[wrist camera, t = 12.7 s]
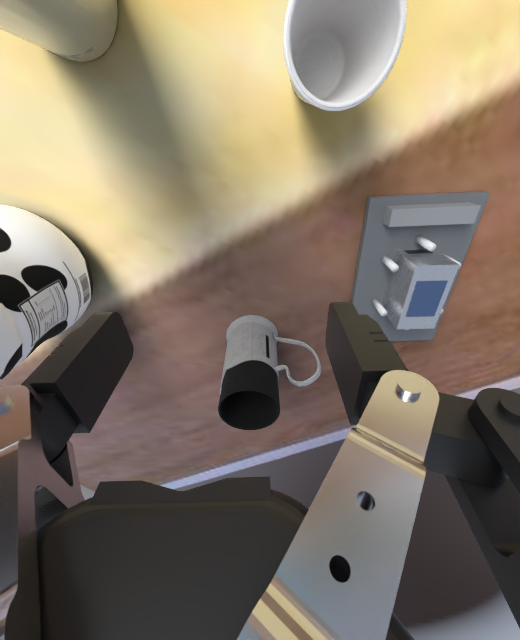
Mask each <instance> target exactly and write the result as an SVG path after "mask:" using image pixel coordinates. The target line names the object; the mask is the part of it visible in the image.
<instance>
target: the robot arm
mask: <svg viewBox="0 0 520 640" xmlns="http://www.w3.org/2000/svg"><path fill="white" fill-rule="evenodd" d="M117 17H118V7H117V0H0V29H2V30H4V31H6V32H8V33H11V34H13V35H15V36H17V37H20V38H22V39H24V40H26V41H29V42H31V43H33V44H35V45H37V46H40V47H42V48H44V49H46V50H48V51H50V52H52V53H54V54H56V55H59V56H62V57H65V58H67V59H70V60H73V61H81V62H86V61H91V60H95V59H96V58H98V57H100V56H101V55H103V54H104V52H105V51H106V50H107V49H108V48H109V46H110V44H111V42H112V40H113V38H114V35H115V31H116V27H117ZM326 348H327V353H328V356H329V359H330V362H331V365H332V368H333V372H334V375H335V378H336V381H337V384H338V387H339V390H340V393H341V397H342V400H343V403H344V406H345V409H346V412H347V415H348V419H349V422H350V425H355V424H357V426H356V428H352V429H351V430H350V432H349V434H348V435H347V437H346V439H345V441H344V443H343V445H342V447H341V449H340V451H339V453H338V455H337V457H336V458H335V460H334V462H333V464H332V466H331V468H330V470H329V472H328V474H327V476H326V478H325V480H324V481H323V483H322V486H321V487H320V489H319V491H318V493H317V495H316V497H315V499H314V501H313V503H312V504H311V506H310V508H309V509H308V508H307V507H305V506H304V505H302V504H301V503H300V502H298V501H297V500H295V499H293V498H292V497H290V496H288V495H285V494H283V493H281V492H278V491H274V490H271V488H270V477H245V478H226V479H223V480H219V481H216V482H213V483H210V484H206V485H203V486H200V487H196V488H193V489H190V490H187V491H176V490H173V489H169V488H166V487H162V486H159V485H155V484H152V483H148V482H145V481H110V482H100V483H99V485H98V488H97V490H96V492H95V494H94V496H93V497H92V498H89V499H87V500H84V498H83V495H82V492H81V487H80V482H79V477H78V471H77V466H76V461H75V455H74V450H73V446H72V443H71V442H70V441H69V439H70V437H71V436H72V434H73V433H90V431H91V429H92V428H93V426H94V424H95V422H96V421H97V419H98V417H99V415H100V414H101V412H102V410H103V408H104V407H105V405H106V403H107V401H108V400H109V398H110V396H111V394H112V393H113V391H114V389H115V387H116V386H117V384H118V382H119V380H120V379H121V377H122V375H123V373H124V372H125V370H126V368H127V366H128V365H129V363H130V361H131V359H132V356H133V344H132V342H131V339H130V337H129V334H128V332H127V329H126V327H125V325H124V322H123V320H122V317H121V316H120V314H119V313H117V312H106V313H95V314H93V315H92V316H91V317H90V318H89V319H88V320H87V321H86V323H85V324H84V325H83V326H82V327H80V328H79V329H77V330H76V331H74V332H73V333H71V334H69V335H68V336H67V337H66V338H65V339H64V340H63V341H62V342H61V343H60V344H59V347H57V348H56V349H55V350H54V351H53V352H52V353H51V355H49V356H48V357H47V358H46V359H45V360H44V361H43V362H42V363H41V364H40V365H39V366H38V367H37V368H36V370H35V371H34V372H33V373H32V374H31V375H30V376H29V377H28V378H27V379H26V380H25V381H24V382H23V383H22V384H21V385H13V386H8V387H4V388H2V389H0V640H414V638H413V637H412V636H411V635H410V633H409V632H408V631H407V630H406V628H405V627H404V626H403V625H402V623H401V622H400V621H399V619H398V618H397V617H396V616H395V614H394V613H393V612H392V611H393V607H394V603H395V598H396V594H397V590H398V586H399V581H400V578H401V574H402V569H403V566H404V561H405V557H406V553H407V549H408V545H409V541H410V537H411V532H412V528H413V524H414V520H415V516H416V512H417V508H418V504H419V499H420V495H421V491H422V487H423V483H424V478H425V473H426V470H430V471H433V472H437V473H440V474H444V475H445V476H446V479H447V481H448V482H449V485H450V487H451V489H452V491H453V493H454V495H455V497H456V499H457V501H458V503H459V505H460V507H461V509H462V511H463V513H464V515H465V517H466V519H467V521H468V524H469V526H470V528H471V530H472V532H473V534H474V536H475V538H476V540H477V542H478V544H479V546H480V548H481V550H482V552H483V554H484V556H485V558H486V560H487V562H488V564H489V566H490V568H491V571H492V572H493V575H494V576H495V579H496V581H497V583H498V585H499V587H500V589H501V591H502V593H503V595H504V597H505V599H506V601H507V603H508V605H509V607H510V609H511V611H512V613H513V615H514V618H515V620H516V622H517V624H518V626H519V628H520V394H517V393H515V392H512V391H509V390H505V389H500V388H487V389H484V390H481V391H480V392H479V393H478V395H477V396H476V398H475V400H472V399H467V398H462V397H458V396H453V395H448V394H443V393H440V392H438V391H437V390H436V388H435V387H434V386H433V385H432V383H430V382H429V381H428V380H427V379H425V378H424V377H422V376H420V375H418V374H416V373H413V372H410V371H408V369H407V368H406V366H405V365H404V363H403V362H402V360H401V358H400V357H399V355H398V354H397V352H396V351H395V349H394V347H393V346H392V344H391V343H390V342H389V341H388V338H387V336H386V335H385V334H384V333H383V330H382V329H381V327H380V326H379V324H378V322H376V321H375V320H374V319H372V318H371V317H369V316H368V315H367V314H364V315H359V314H358V312H357V310H356V308H355V307H354V305H353V303H352V302H335V303H330V305H329V312H328V321H327V330H326Z"/></svg>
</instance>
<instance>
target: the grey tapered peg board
mask: <svg viewBox="0 0 520 640" xmlns="http://www.w3.org/2000/svg"><path fill="white" fill-rule="evenodd" d="M489 194H490V192H485V191H472V192H450V193H428V194H405V195H383V196H367V202H366V209H365V215H364V221H363V227H362V233H361V239H360V245H359V252H358V258H357V264H356V270H355V276H354V282H353V288H352V294H351V301H350V302H352V303H353V305H354V307H355V308H356V310H357V312H358V314H359V315H364V314H367V315H368V316H369V317H371V318H372V319H374V320H375V321H376V322H378V324H379V326H380V327H381V329H382V330H383V333H384V334H385V335H386V336H387V338H388V341H418V340H433V337H434V335H435V332H436V330H437V327H438V325H439V322H440V319H441V317H442V314H443V312H444V309H445V307H446V304H447V301H448V299H449V296H450V294H451V291H452V289H453V286H454V283H455V281H456V278H457V276H458V273H459V271H460V268H461V265H462V263H463V260H464V258H465V255H466V253H467V250H468V247H469V245H470V242H471V240H472V237H473V235H474V232H475V229H476V227H477V224H478V222H479V219H480V217H481V214H482V212H483V209H484V206H485V204H486V201H487V199H488V196H489ZM419 249H427V250H429V251H433V250H436V251H438V252H440V253H441V254H443V255H445V256H446V257H448V258H450V259H451V260H453V261H455V262H456V263H458V264H460V265H459V268H458V270H457V273H456V275H455V278H454V280H453V283H452V285H451V288H450V290H449V293H448V295H447V298H446V300H445V303H444V305H443V308H442V310H441V313H440V315H439V318H438V320H437V323H436V325H435V328H434V329H396V328H395V327H394V325H393V324H392V322H391V321H390V320H389V318H388V317H387V316H386V315H387V311H386V310H385V309H384V307H383V306H382V303H383V299H384V295H385V291H386V287H387V283H388V279H389V275H390V272H391V271H393V272H396V271H397V270H398V269H399V266H398V265H397V264H396V263H394V262H393V260H394V256H395V252H396V250H419Z"/></svg>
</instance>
